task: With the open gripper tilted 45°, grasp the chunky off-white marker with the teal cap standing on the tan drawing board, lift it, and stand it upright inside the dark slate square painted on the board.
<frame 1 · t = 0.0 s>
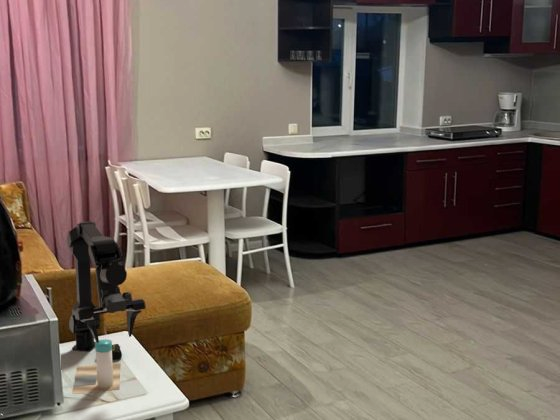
hand: (114, 339, 191), 15 cm above the table, fingers open, 9 cm apart
marker: (105, 384, 196), point 1 cm above the table, touching drawing board
drawing board: (97, 379, 201), on the table
tape measure: (112, 358, 215), on the table
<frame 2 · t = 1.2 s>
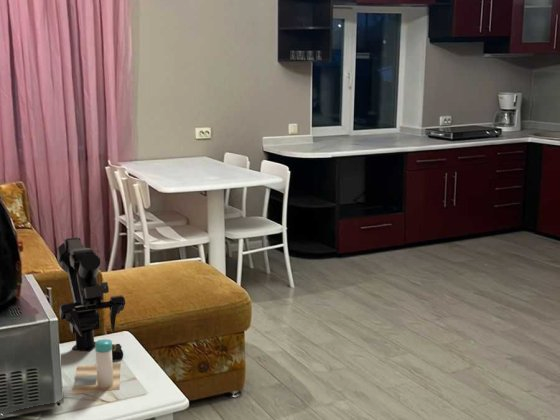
hand: (97, 333, 200), 13 cm above the table, fingers open, 9 cm apart
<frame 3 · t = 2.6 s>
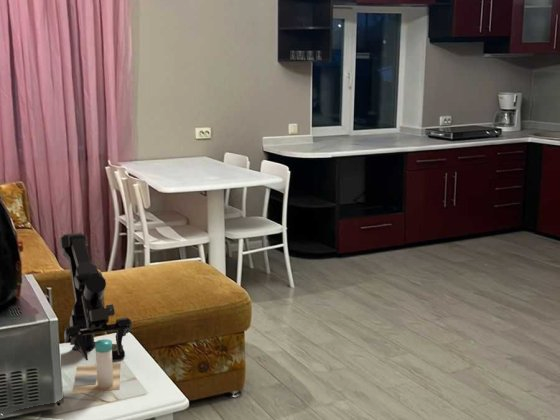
hand: (103, 357, 195), 9 cm above the table, fingers open, 9 cm apart
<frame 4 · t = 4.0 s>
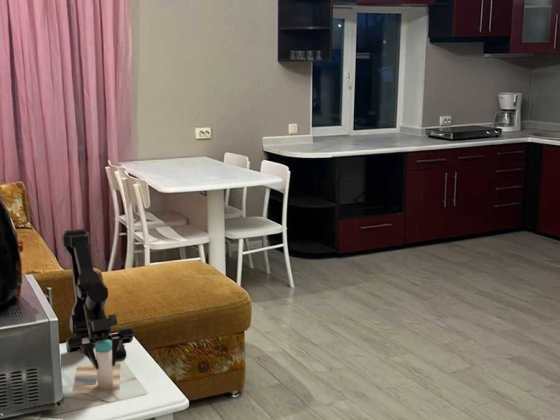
hand: (105, 367, 193), 7 cm above the table, fingers closed on marker, 4 cm apart
marker: (105, 384, 196), point 1 cm above the table, touching drawing board, gripper
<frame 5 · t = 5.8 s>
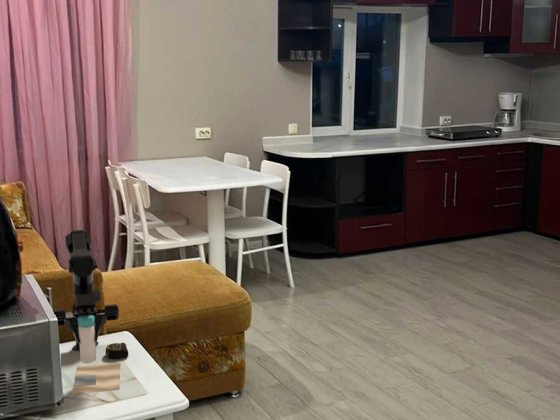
hand: (87, 342, 194), 13 cm above the table, fingers closed on marker, 4 cm apart
marker: (88, 359, 197), point 7 cm above the table, touching gripper
when the fingers open (8 cm above the table, at t = 7.6 s): marker drops 1 cm, resting on drawing board.
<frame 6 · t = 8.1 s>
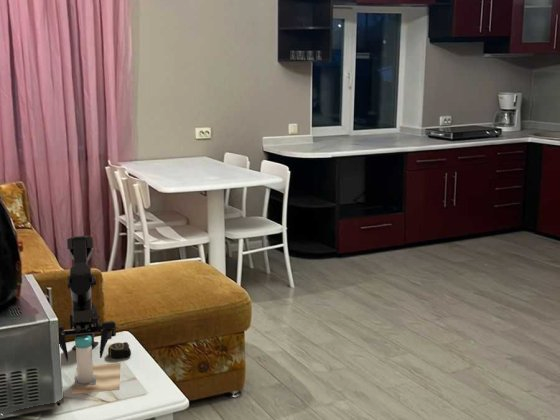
hand: (84, 359, 195), 8 cm above the table, fingers open, 9 cm apart
marker: (85, 380, 198), point 1 cm above the table, touching drawing board
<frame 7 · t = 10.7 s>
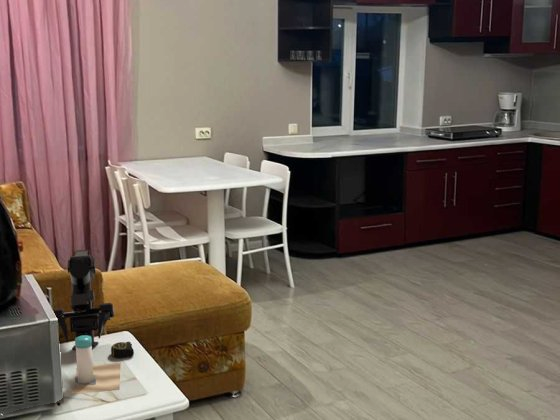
hand: (83, 339, 204), 10 cm above the table, fingers open, 9 cm apart
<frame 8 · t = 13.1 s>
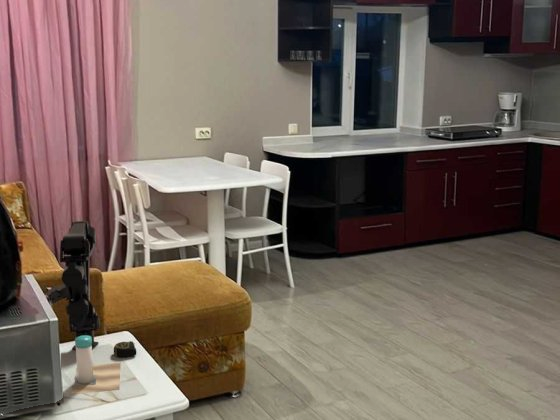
hand: (79, 325, 207), 13 cm above the table, fingers open, 9 cm apart
at the end: marker 0.1 cm from the target spot, point 0.7 cm above the table; marker tilted 0°; the gripper is holding nothing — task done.
